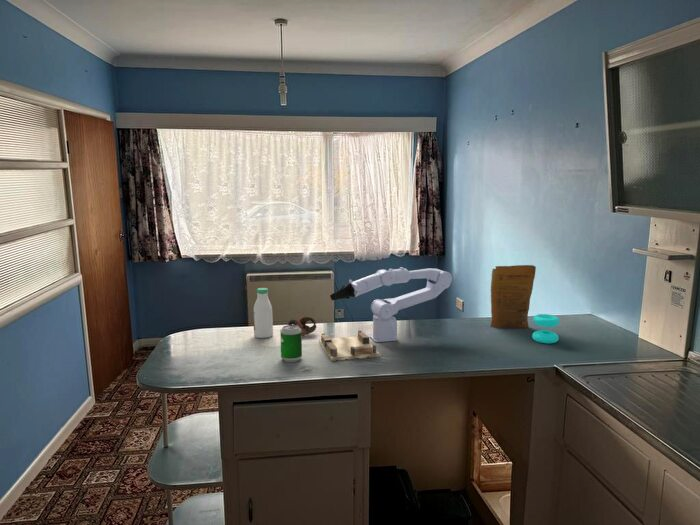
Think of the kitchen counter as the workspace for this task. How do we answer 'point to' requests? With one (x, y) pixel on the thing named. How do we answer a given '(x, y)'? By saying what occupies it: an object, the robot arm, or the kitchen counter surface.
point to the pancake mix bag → (511, 295)
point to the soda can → (291, 343)
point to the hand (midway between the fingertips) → (333, 297)
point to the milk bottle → (263, 315)
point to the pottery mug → (304, 328)
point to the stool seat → (350, 347)
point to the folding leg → (325, 339)
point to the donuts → (545, 335)
